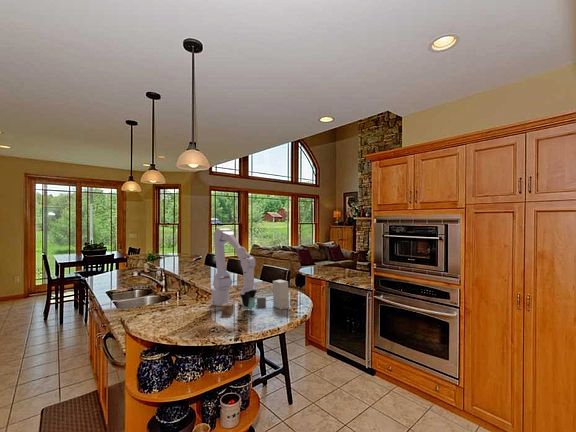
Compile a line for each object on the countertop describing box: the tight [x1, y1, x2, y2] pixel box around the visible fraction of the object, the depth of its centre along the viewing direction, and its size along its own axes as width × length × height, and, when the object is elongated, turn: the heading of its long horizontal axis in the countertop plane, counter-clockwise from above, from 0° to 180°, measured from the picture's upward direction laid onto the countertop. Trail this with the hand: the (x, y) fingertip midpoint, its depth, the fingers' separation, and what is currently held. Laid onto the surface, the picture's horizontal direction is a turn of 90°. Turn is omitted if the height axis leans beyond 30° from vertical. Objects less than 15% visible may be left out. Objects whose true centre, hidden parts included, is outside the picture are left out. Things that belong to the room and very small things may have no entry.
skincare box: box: [272, 279, 290, 310], centre depth 167 cm, size 8×6×15 cm
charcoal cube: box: [256, 295, 267, 308], centre depth 171 cm, size 5×5×5 cm
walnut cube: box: [221, 302, 235, 316], centre depth 156 cm, size 5×5×5 cm
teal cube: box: [241, 297, 256, 310], centre depth 161 cm, size 5×5×5 cm
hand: (248, 305), depth 161 cm, fingers closed on teal cube, 5 cm apart
